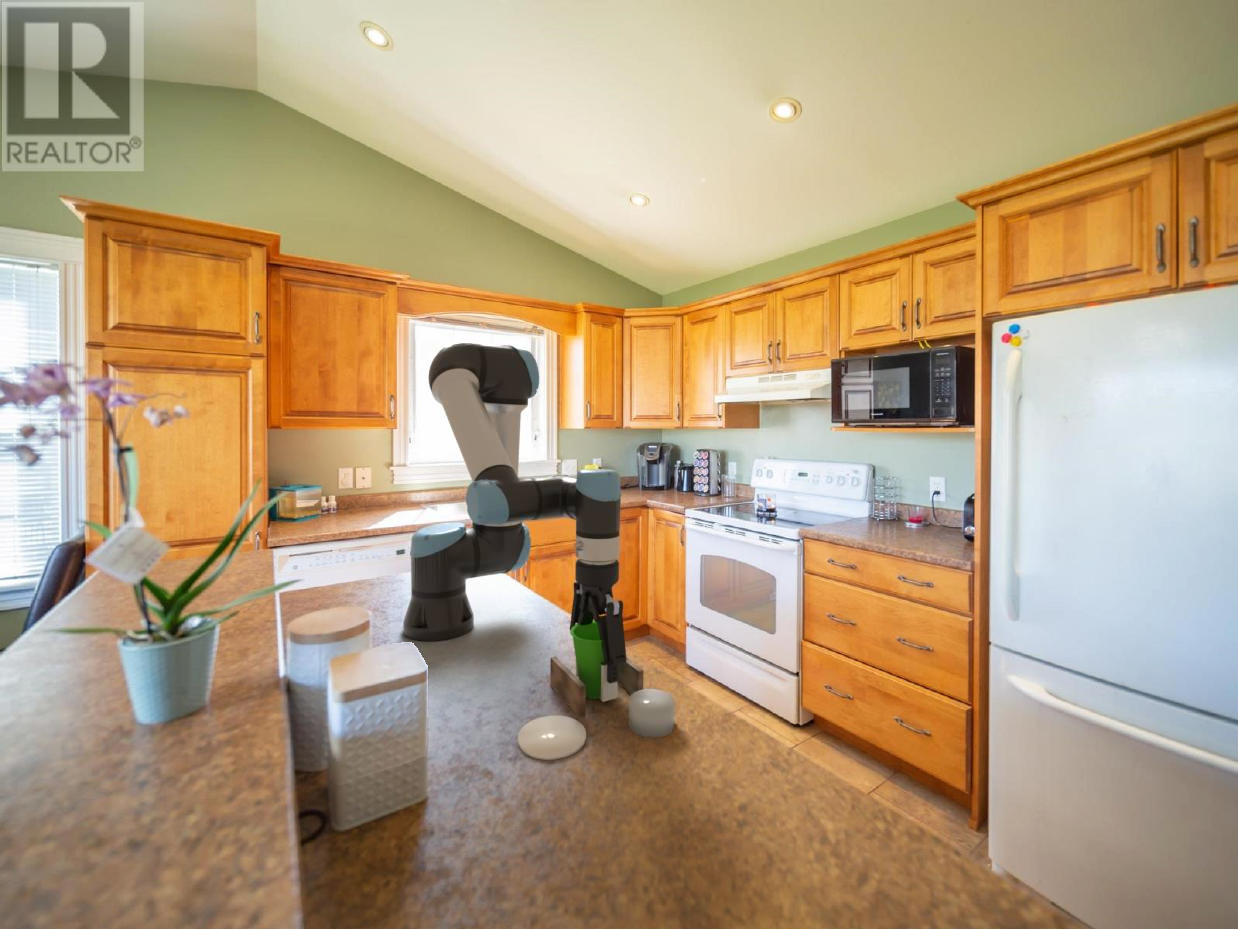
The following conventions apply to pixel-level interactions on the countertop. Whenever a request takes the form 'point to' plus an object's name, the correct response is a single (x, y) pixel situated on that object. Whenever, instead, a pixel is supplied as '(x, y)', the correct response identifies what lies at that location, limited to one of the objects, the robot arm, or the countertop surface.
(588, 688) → the cup
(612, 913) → the countertop surface
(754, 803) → the countertop surface
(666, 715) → the grey rounded puck
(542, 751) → the white oval pebble
